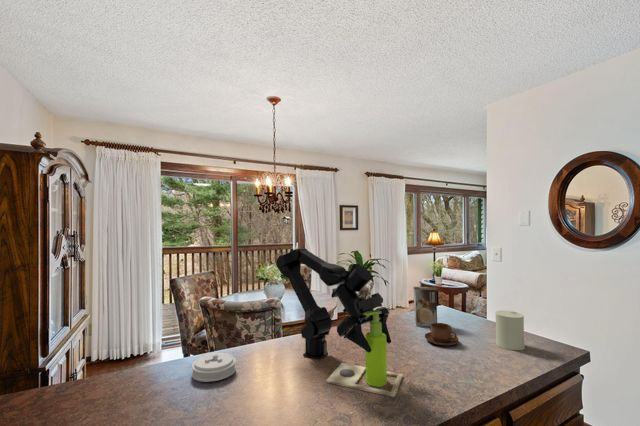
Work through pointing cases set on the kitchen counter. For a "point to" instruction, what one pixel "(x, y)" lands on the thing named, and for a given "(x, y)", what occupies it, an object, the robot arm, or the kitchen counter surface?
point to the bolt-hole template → (351, 375)
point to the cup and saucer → (441, 334)
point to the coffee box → (425, 306)
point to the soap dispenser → (376, 352)
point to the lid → (213, 367)
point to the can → (510, 330)
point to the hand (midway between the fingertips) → (380, 347)
